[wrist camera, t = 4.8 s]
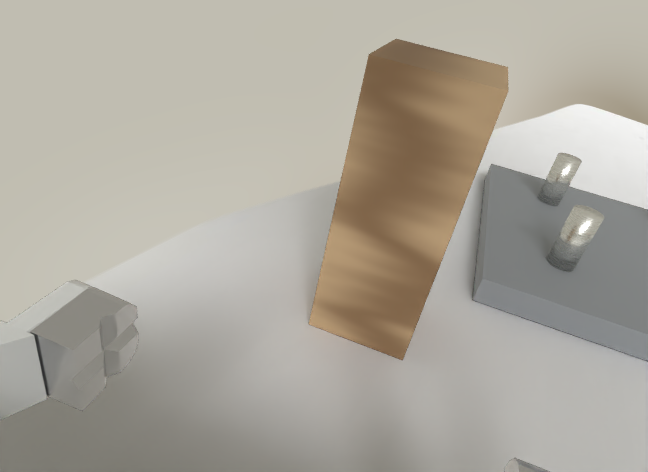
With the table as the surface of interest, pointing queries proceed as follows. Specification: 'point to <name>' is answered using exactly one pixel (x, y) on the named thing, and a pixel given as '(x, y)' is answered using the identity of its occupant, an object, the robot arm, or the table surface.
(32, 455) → the table surface
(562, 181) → the standoff pins
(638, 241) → the plate
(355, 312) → the oak block
